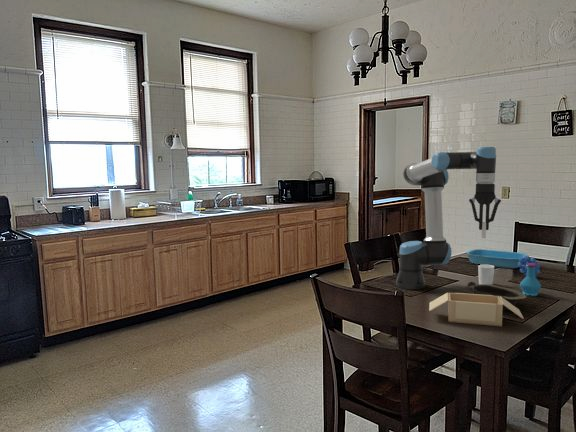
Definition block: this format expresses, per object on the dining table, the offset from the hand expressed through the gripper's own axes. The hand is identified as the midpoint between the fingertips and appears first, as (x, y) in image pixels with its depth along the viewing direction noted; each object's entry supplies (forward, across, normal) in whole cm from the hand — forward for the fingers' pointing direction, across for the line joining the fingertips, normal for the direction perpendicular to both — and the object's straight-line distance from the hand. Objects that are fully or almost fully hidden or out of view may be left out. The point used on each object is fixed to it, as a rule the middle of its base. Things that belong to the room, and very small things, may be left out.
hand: (483, 237), depth 201 cm
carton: (+32, -4, -14) cm, 36 cm away
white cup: (+33, +6, +45) cm, 56 cm away
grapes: (+33, +30, +67) cm, 80 cm away
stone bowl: (+33, +7, +9) cm, 35 cm away
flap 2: (+26, +10, -14) cm, 31 cm away
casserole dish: (+33, +17, +98) cm, 105 cm away
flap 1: (+26, -18, -14) cm, 35 cm away
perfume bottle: (+33, +25, +32) cm, 52 cm away
